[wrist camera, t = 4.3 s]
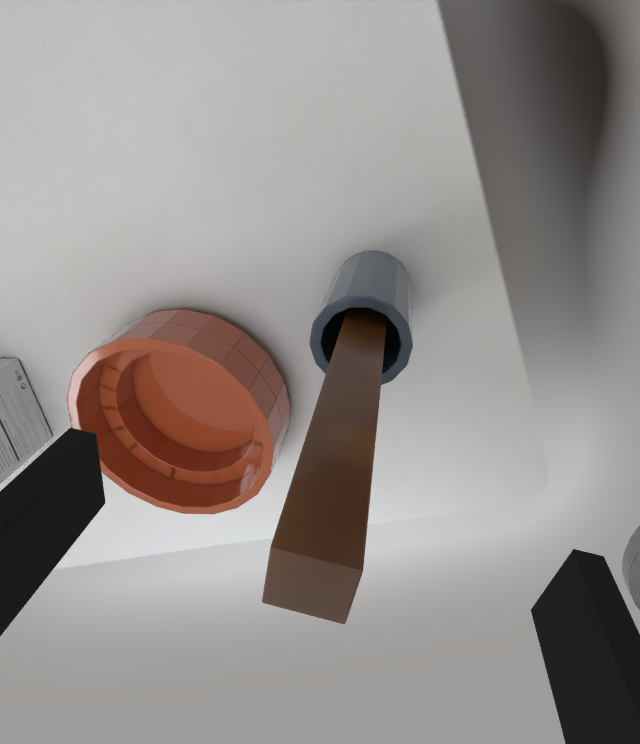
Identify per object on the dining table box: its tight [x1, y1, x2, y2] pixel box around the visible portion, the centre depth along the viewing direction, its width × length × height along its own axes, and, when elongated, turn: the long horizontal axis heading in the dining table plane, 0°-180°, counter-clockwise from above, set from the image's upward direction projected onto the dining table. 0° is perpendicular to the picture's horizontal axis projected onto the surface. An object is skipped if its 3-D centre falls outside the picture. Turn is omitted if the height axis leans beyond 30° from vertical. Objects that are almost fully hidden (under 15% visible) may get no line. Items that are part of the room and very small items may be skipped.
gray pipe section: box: [310, 251, 413, 385], centre depth 26 cm, size 5×5×9 cm
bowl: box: [67, 309, 290, 514], centre depth 35 cm, size 16×16×6 cm
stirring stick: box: [262, 308, 387, 624], centre depth 20 cm, size 2×2×22 cm
